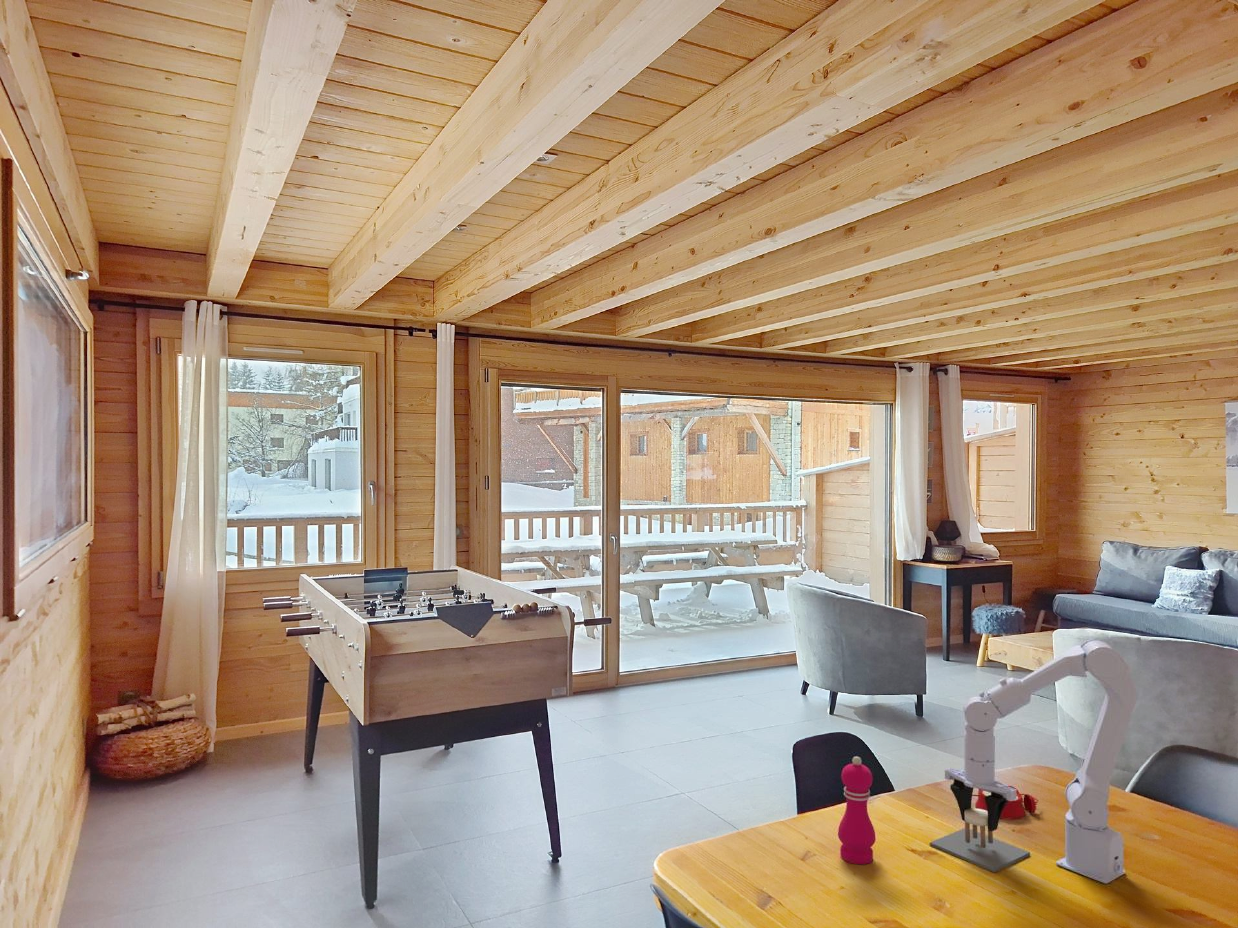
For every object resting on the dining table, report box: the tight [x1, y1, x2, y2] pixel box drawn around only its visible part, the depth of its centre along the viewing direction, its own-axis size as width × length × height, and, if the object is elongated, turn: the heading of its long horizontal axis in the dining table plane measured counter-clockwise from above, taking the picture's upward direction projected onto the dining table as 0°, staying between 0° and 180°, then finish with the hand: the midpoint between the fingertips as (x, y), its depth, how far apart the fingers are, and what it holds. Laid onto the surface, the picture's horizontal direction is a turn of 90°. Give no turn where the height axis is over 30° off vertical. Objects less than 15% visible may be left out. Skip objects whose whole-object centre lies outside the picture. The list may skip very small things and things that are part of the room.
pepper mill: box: [837, 756, 876, 865], centre depth 163 cm, size 7×7×20 cm
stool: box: [964, 807, 994, 848], centre depth 166 cm, size 5×5×6 cm
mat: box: [929, 827, 1031, 873], centre depth 166 cm, size 14×13×1 cm
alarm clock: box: [972, 785, 1039, 820], centre depth 187 cm, size 10×6×15 cm
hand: (979, 824), depth 166 cm, fingers closed on stool, 5 cm apart
